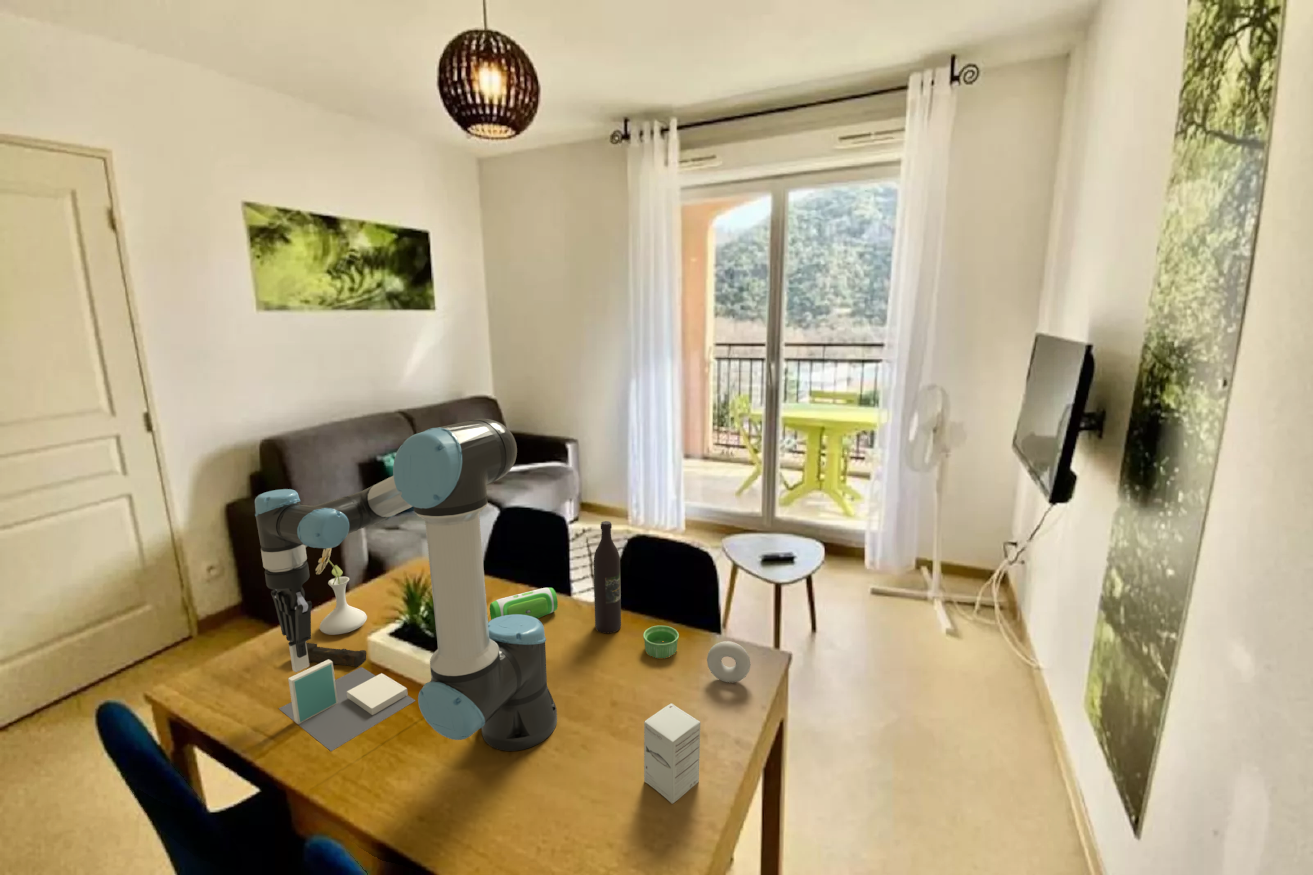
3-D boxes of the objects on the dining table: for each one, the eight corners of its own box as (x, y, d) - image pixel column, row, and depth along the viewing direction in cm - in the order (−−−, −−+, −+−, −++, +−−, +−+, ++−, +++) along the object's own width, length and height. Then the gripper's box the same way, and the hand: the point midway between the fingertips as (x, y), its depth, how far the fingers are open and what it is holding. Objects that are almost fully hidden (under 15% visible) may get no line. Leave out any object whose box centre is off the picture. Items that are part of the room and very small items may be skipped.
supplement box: (642, 782, 102) (642, 720, 100) (671, 760, 107) (671, 701, 105) (672, 806, 97) (672, 742, 94) (700, 782, 102) (701, 720, 100)
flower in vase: (329, 619, 159) (318, 534, 154) (373, 615, 161) (363, 532, 156) (310, 644, 146) (298, 553, 141) (358, 640, 148) (347, 550, 143)
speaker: (497, 633, 151) (495, 608, 150) (489, 621, 157) (488, 596, 156) (559, 616, 160) (558, 591, 159) (549, 605, 166) (548, 581, 165)
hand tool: (369, 662, 139) (367, 645, 138) (357, 671, 135) (355, 654, 134) (303, 653, 143) (301, 636, 142) (290, 662, 139) (287, 645, 138)
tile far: (382, 679, 131) (407, 695, 125) (347, 698, 124) (372, 715, 119) (381, 673, 130) (407, 688, 125) (346, 691, 124) (371, 708, 118)
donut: (705, 682, 130) (706, 643, 128) (707, 673, 134) (708, 635, 132) (749, 689, 128) (750, 649, 126) (750, 680, 131) (751, 640, 129)
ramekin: (636, 649, 144) (635, 633, 143) (662, 636, 150) (662, 621, 149) (659, 665, 137) (659, 648, 136) (686, 651, 143) (686, 635, 142)
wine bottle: (605, 637, 149) (603, 529, 143) (589, 626, 154) (587, 522, 148) (626, 627, 154) (625, 523, 148) (610, 617, 159) (608, 516, 153)
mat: (416, 702, 123) (415, 700, 123) (331, 754, 109) (331, 751, 109) (361, 669, 136) (361, 666, 135) (278, 711, 121) (278, 708, 121)
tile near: (338, 703, 122) (332, 661, 120) (298, 724, 116) (292, 681, 114) (334, 700, 123) (328, 659, 121) (294, 721, 117) (288, 678, 115)
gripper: (321, 565, 115) (334, 669, 120) (291, 551, 123) (305, 650, 127) (280, 579, 109) (296, 688, 114) (251, 563, 117) (267, 666, 121)
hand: (301, 668), depth 121 cm, fingers closed
